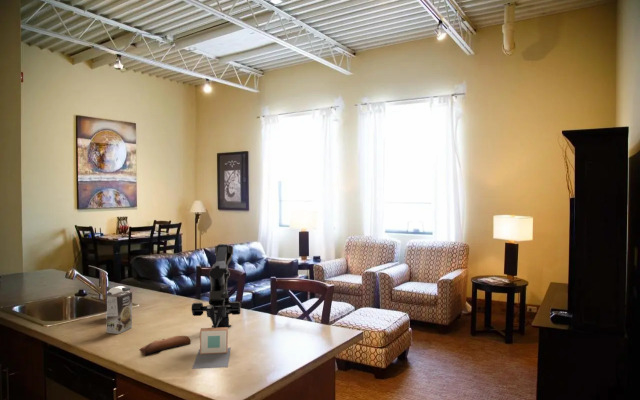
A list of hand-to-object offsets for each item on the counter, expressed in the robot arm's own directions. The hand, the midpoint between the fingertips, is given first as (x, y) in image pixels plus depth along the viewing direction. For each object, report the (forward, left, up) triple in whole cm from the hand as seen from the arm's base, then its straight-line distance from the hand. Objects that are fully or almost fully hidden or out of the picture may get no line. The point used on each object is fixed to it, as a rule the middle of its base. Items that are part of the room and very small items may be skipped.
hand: (215, 328), depth 163 cm
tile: (+2, -2, -8) cm, 9 cm away
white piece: (-73, -4, -9) cm, 73 cm away
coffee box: (-52, -13, -9) cm, 54 cm away
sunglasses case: (-18, -11, -9) cm, 23 cm away
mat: (+6, -5, -9) cm, 12 cm away
